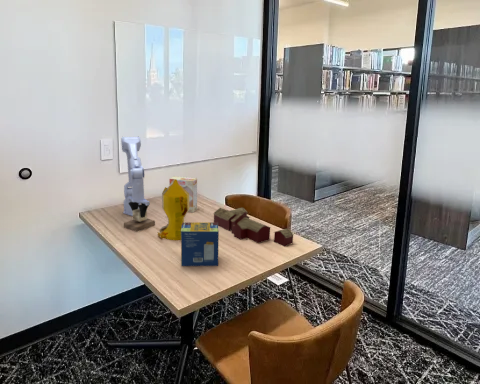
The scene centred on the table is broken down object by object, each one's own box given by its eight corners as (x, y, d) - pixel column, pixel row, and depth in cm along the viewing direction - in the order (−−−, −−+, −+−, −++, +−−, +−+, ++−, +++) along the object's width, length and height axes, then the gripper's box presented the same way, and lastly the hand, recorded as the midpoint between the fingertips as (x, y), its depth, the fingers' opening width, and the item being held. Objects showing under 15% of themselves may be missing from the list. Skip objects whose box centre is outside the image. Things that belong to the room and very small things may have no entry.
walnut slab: (124, 228, 190) (123, 222, 189) (141, 221, 200) (141, 216, 199) (137, 232, 185) (137, 227, 184) (154, 225, 194) (154, 220, 194)
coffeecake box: (169, 210, 219) (168, 178, 214) (174, 206, 226) (173, 175, 221) (193, 212, 216) (193, 180, 211) (197, 209, 223) (197, 177, 218)
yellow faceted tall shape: (169, 246, 169) (168, 187, 161) (149, 229, 188) (147, 176, 180) (202, 238, 178) (202, 183, 171) (180, 223, 198) (179, 173, 190)
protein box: (182, 255, 160) (182, 222, 156) (217, 255, 161) (218, 222, 157) (180, 266, 150) (180, 231, 146) (218, 266, 151) (219, 231, 147)
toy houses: (209, 225, 198) (209, 207, 195) (238, 217, 210) (239, 200, 208) (268, 253, 165) (269, 232, 162) (298, 243, 178) (299, 223, 175)
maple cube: (132, 219, 191) (132, 210, 189) (140, 217, 195) (139, 208, 193) (139, 221, 188) (139, 212, 187) (146, 219, 192) (146, 210, 191)
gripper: (122, 190, 188) (123, 215, 191) (141, 195, 180) (142, 221, 184) (133, 187, 193) (134, 211, 197) (152, 192, 186) (153, 217, 189)
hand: (139, 216), depth 191 cm, fingers closed on maple cube, 5 cm apart
